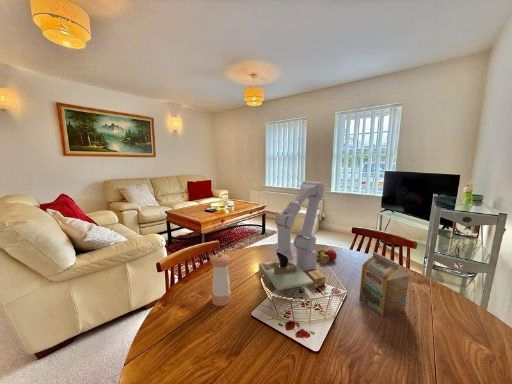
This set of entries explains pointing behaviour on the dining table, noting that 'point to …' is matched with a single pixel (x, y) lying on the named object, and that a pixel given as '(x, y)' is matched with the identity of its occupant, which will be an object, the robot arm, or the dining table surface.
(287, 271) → the lid
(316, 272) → the tan block
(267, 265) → the toolbox
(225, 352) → the dining table surface
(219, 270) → the salt shaker
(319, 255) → the kendama
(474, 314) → the dining table surface
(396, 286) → the milk carton
